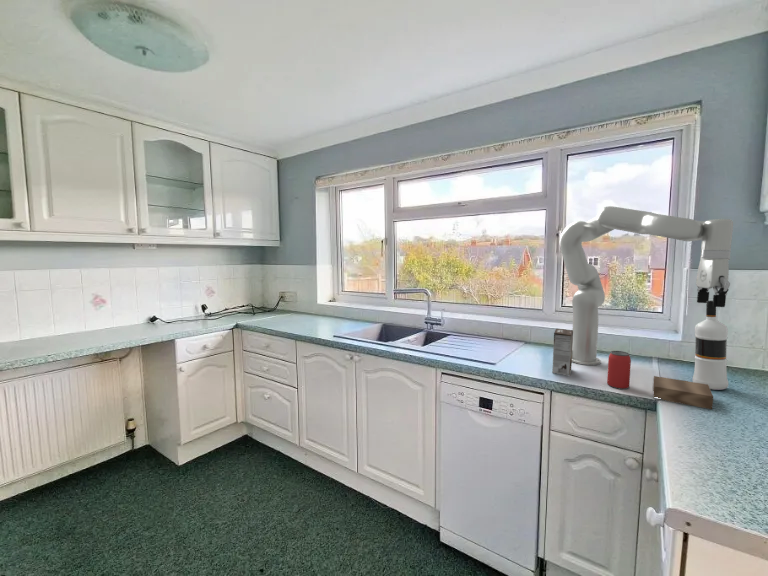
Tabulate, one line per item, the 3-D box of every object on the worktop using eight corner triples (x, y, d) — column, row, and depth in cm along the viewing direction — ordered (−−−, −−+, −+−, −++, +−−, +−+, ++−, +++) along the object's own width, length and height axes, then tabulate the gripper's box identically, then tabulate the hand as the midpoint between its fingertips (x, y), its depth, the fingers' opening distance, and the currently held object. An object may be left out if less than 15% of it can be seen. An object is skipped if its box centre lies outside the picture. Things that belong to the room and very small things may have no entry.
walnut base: (653, 398, 115) (654, 386, 115) (653, 387, 125) (654, 375, 125) (712, 409, 107) (713, 396, 107) (706, 396, 117) (707, 384, 116)
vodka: (685, 381, 130) (686, 299, 128) (712, 380, 129) (714, 298, 127) (707, 391, 121) (708, 303, 118) (736, 390, 120) (738, 301, 118)
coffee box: (554, 366, 148) (555, 328, 146) (571, 369, 144) (573, 329, 143) (551, 373, 140) (553, 332, 138) (570, 376, 136) (572, 334, 135)
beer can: (608, 381, 131) (610, 349, 129) (630, 385, 126) (632, 352, 125) (605, 386, 126) (607, 353, 124) (628, 391, 121) (630, 356, 120)
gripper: (688, 255, 133) (684, 301, 135) (716, 255, 116) (711, 308, 118) (713, 255, 131) (709, 301, 132) (745, 256, 114) (739, 309, 116)
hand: (710, 304), depth 125 cm, fingers open, 9 cm apart
